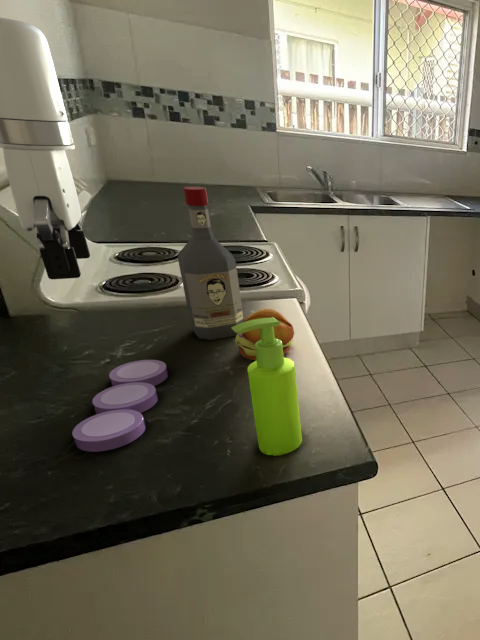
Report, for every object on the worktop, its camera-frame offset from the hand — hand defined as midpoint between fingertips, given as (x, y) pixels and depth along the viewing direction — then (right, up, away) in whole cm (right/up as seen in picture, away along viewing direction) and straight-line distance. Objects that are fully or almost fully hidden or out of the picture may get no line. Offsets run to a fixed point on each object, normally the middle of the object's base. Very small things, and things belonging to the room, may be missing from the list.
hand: (71, 267), depth 66 cm
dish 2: (-4, -17, +17) cm, 24 cm away
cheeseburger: (+12, -13, +30) cm, 35 cm away
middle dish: (0, -21, +10) cm, 23 cm away
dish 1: (+3, -24, +3) cm, 24 cm away
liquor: (-2, -8, +37) cm, 38 cm away
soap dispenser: (+27, -26, +5) cm, 37 cm away
